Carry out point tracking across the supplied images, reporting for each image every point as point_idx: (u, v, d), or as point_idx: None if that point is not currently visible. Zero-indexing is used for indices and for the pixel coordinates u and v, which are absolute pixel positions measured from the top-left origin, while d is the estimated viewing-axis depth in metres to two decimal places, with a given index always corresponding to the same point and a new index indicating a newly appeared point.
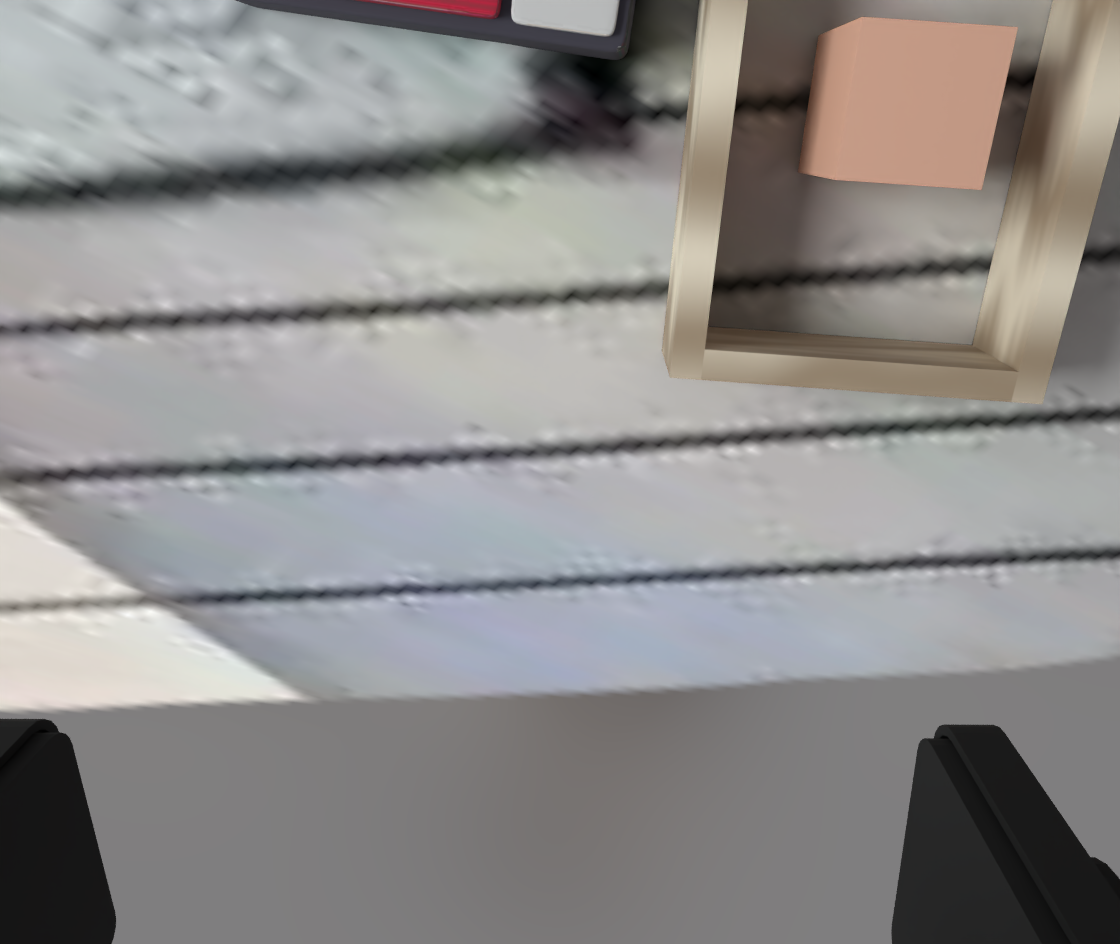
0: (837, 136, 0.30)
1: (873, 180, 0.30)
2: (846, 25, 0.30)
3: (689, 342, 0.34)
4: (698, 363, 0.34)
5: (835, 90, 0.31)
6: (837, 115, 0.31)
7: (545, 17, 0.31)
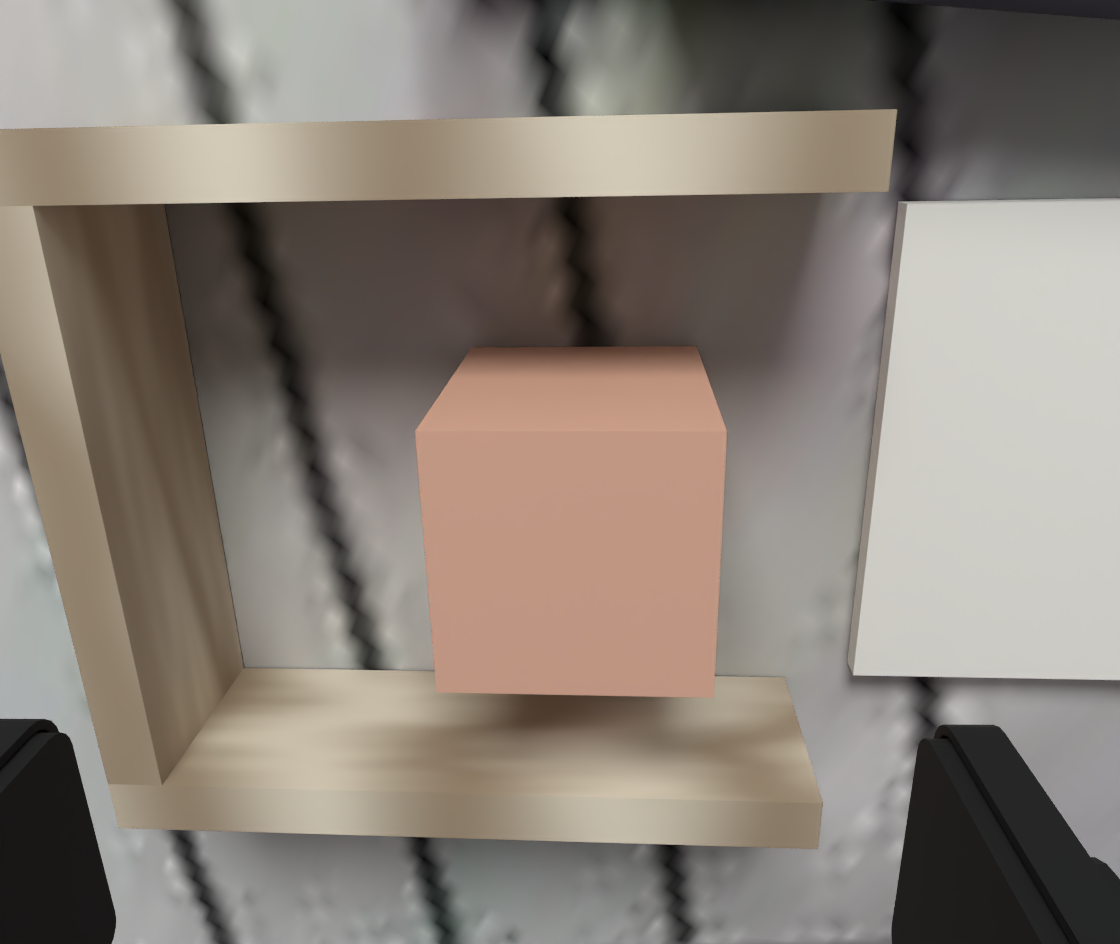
0: (504, 419, 0.15)
1: (424, 505, 0.15)
2: (711, 398, 0.16)
3: (37, 167, 0.15)
4: None
5: (596, 397, 0.16)
6: (547, 409, 0.15)
7: None
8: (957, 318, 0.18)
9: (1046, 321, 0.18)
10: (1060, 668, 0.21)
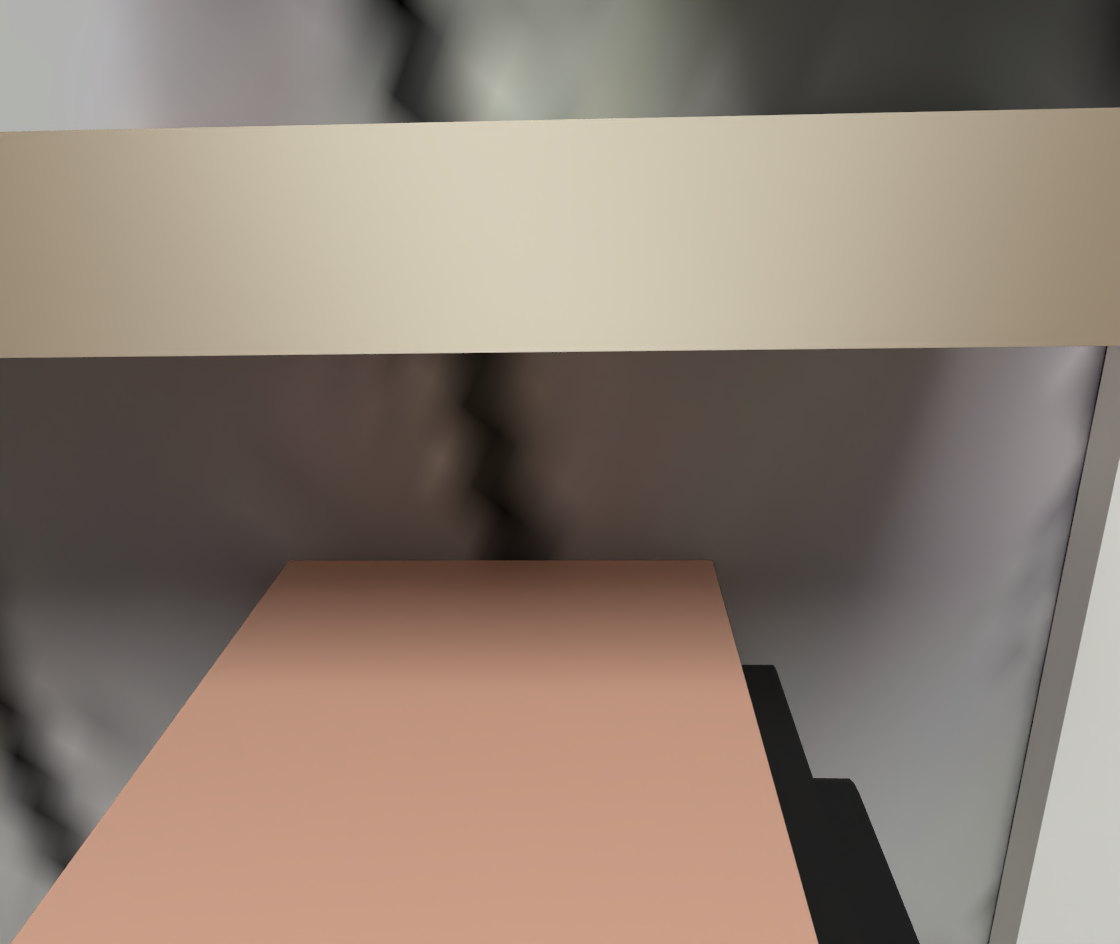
0: None
1: None
2: (772, 810, 0.07)
3: None
4: None
5: (495, 800, 0.07)
6: (359, 879, 0.06)
7: None
8: None
9: None
10: None
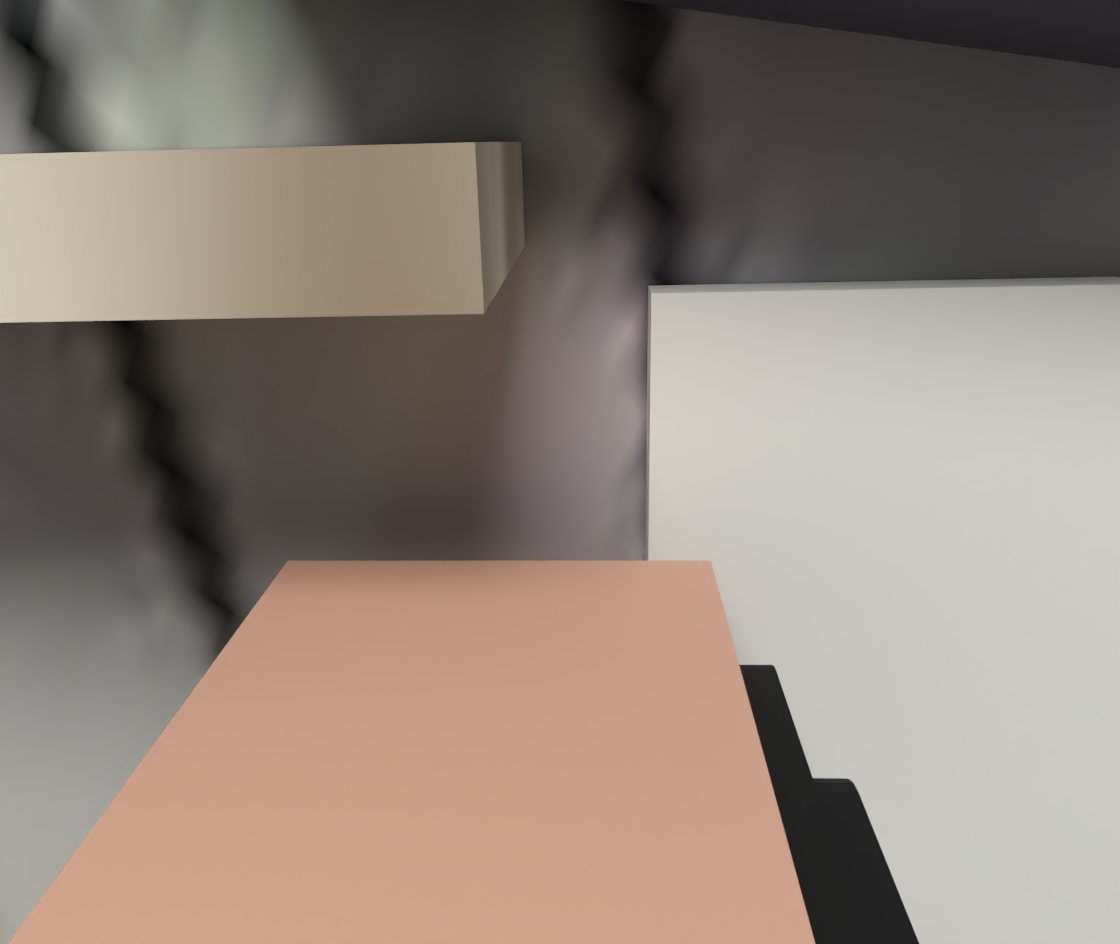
0: None
1: None
2: (769, 810, 0.07)
3: None
4: None
5: (492, 801, 0.07)
6: (358, 881, 0.06)
7: None
8: (751, 476, 0.11)
9: (896, 480, 0.11)
10: None
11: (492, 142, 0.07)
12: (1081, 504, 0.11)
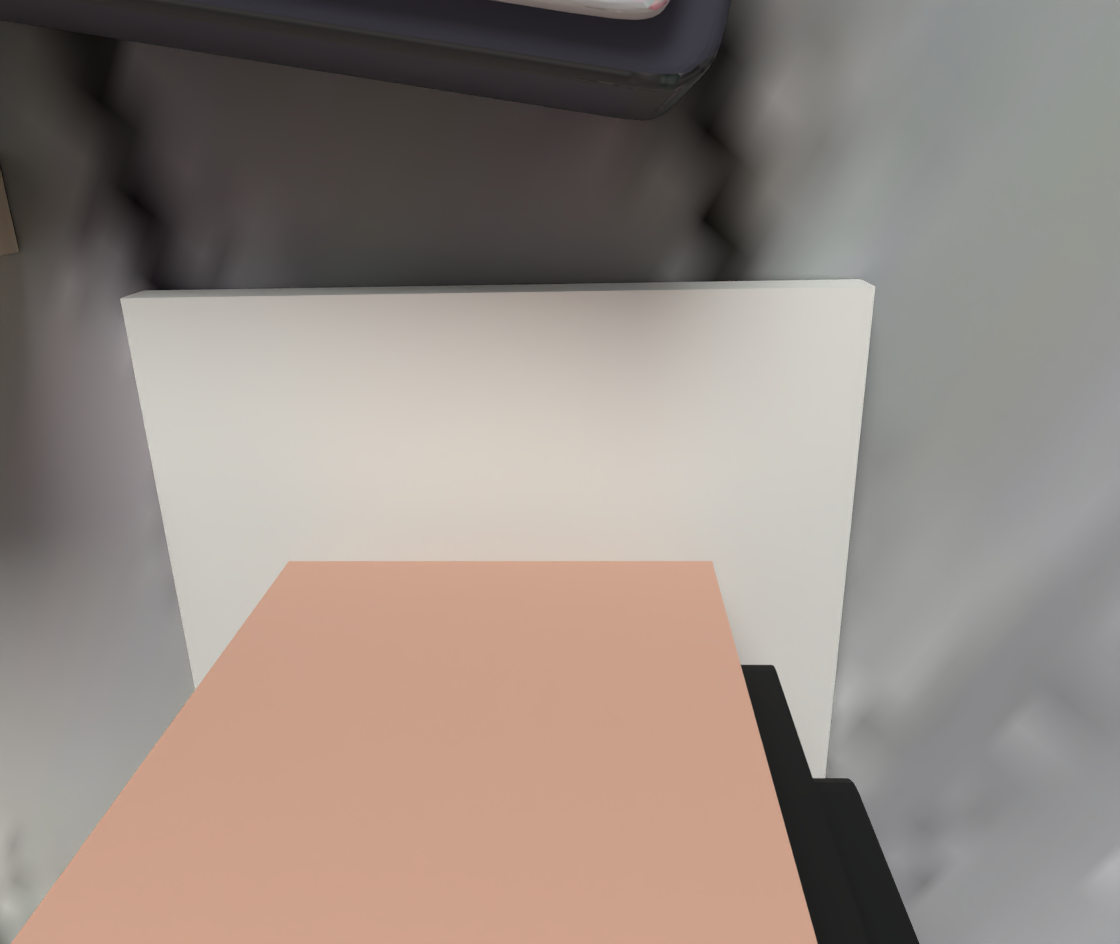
0: None
1: None
2: (771, 811, 0.07)
3: None
4: None
5: (494, 802, 0.07)
6: (359, 882, 0.06)
7: None
8: (251, 475, 0.11)
9: (390, 480, 0.11)
10: None
11: None
12: (571, 504, 0.11)
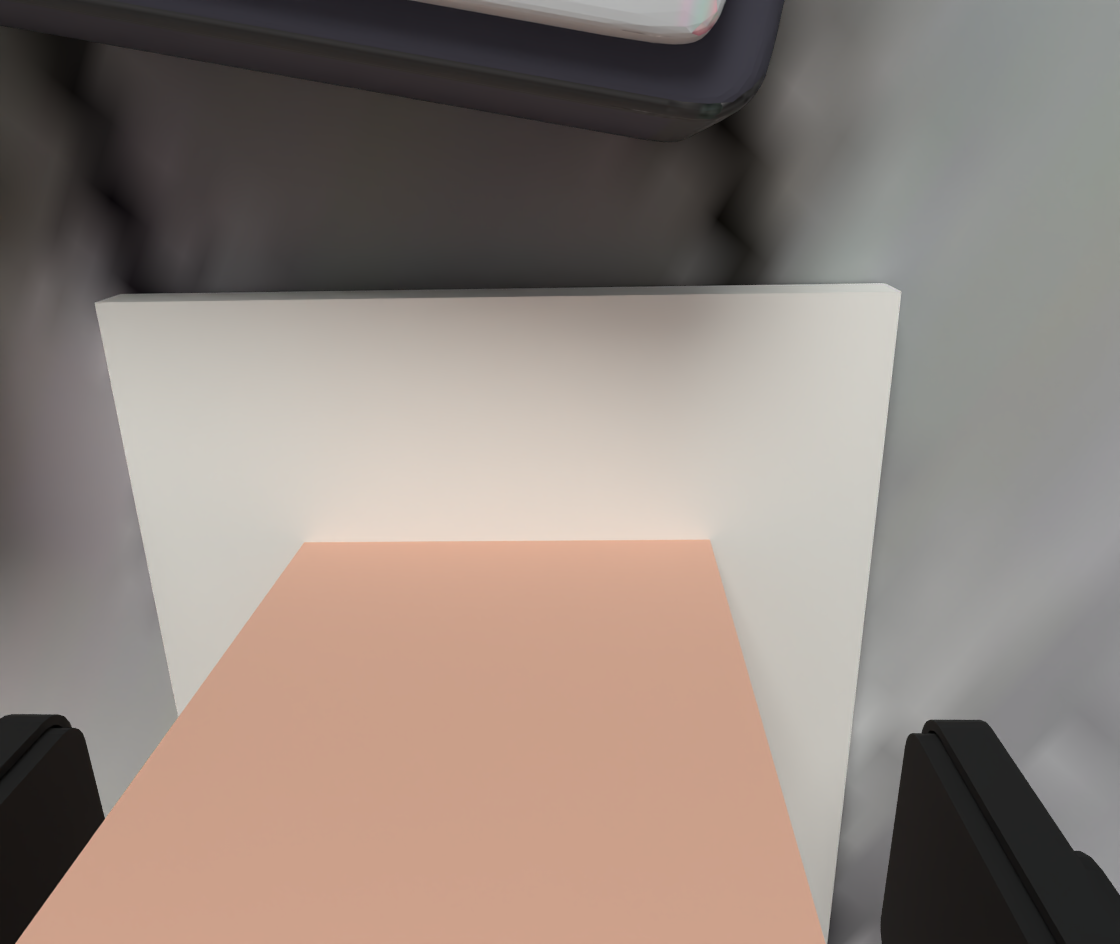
0: (261, 884, 0.06)
1: None
2: (764, 762, 0.07)
3: None
4: None
5: (505, 755, 0.07)
6: (382, 826, 0.06)
7: None
8: (235, 490, 0.11)
9: (382, 495, 0.11)
10: None
11: None
12: (575, 522, 0.11)
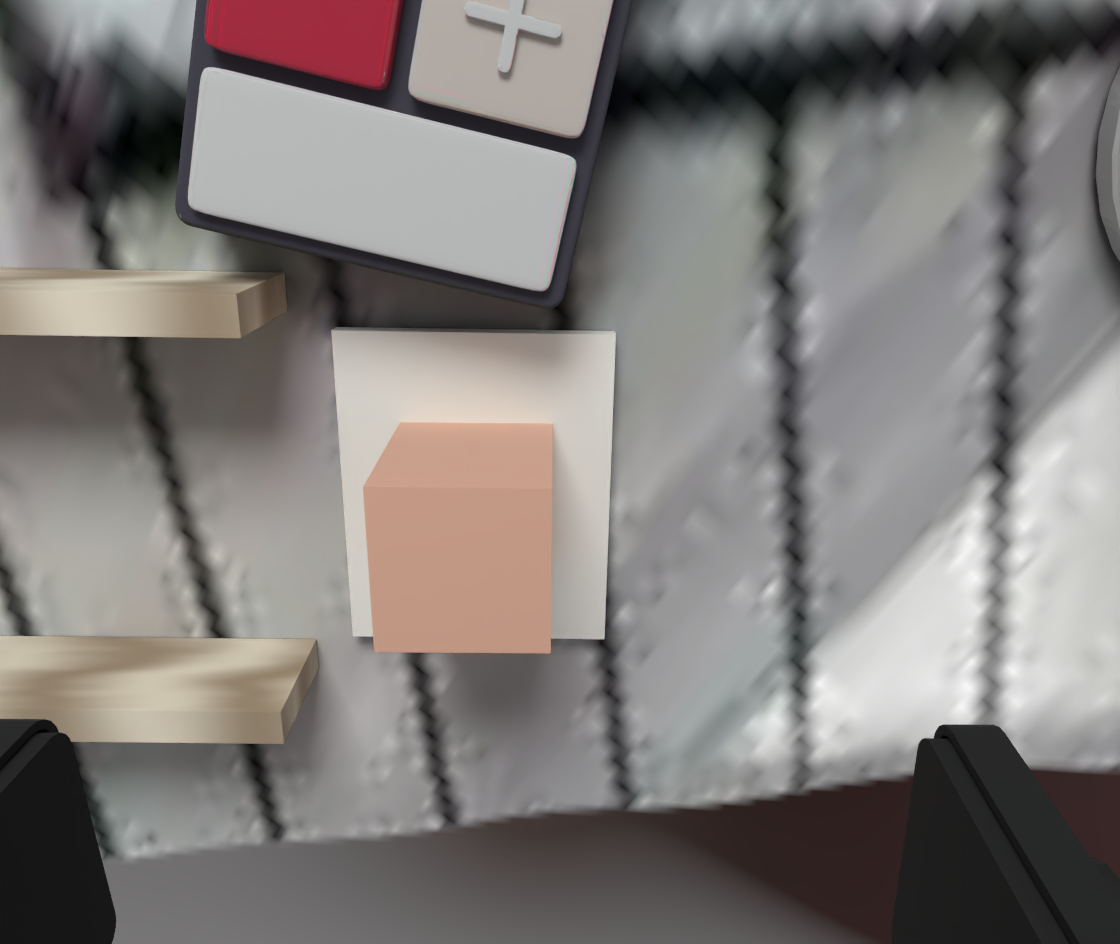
0: (418, 479, 0.24)
1: (368, 532, 0.24)
2: (549, 465, 0.25)
3: None
4: None
5: (478, 463, 0.25)
6: (446, 472, 0.25)
7: (207, 116, 0.23)
8: (375, 401, 0.29)
9: (431, 404, 0.29)
10: None
11: (250, 287, 0.25)
12: (502, 415, 0.29)
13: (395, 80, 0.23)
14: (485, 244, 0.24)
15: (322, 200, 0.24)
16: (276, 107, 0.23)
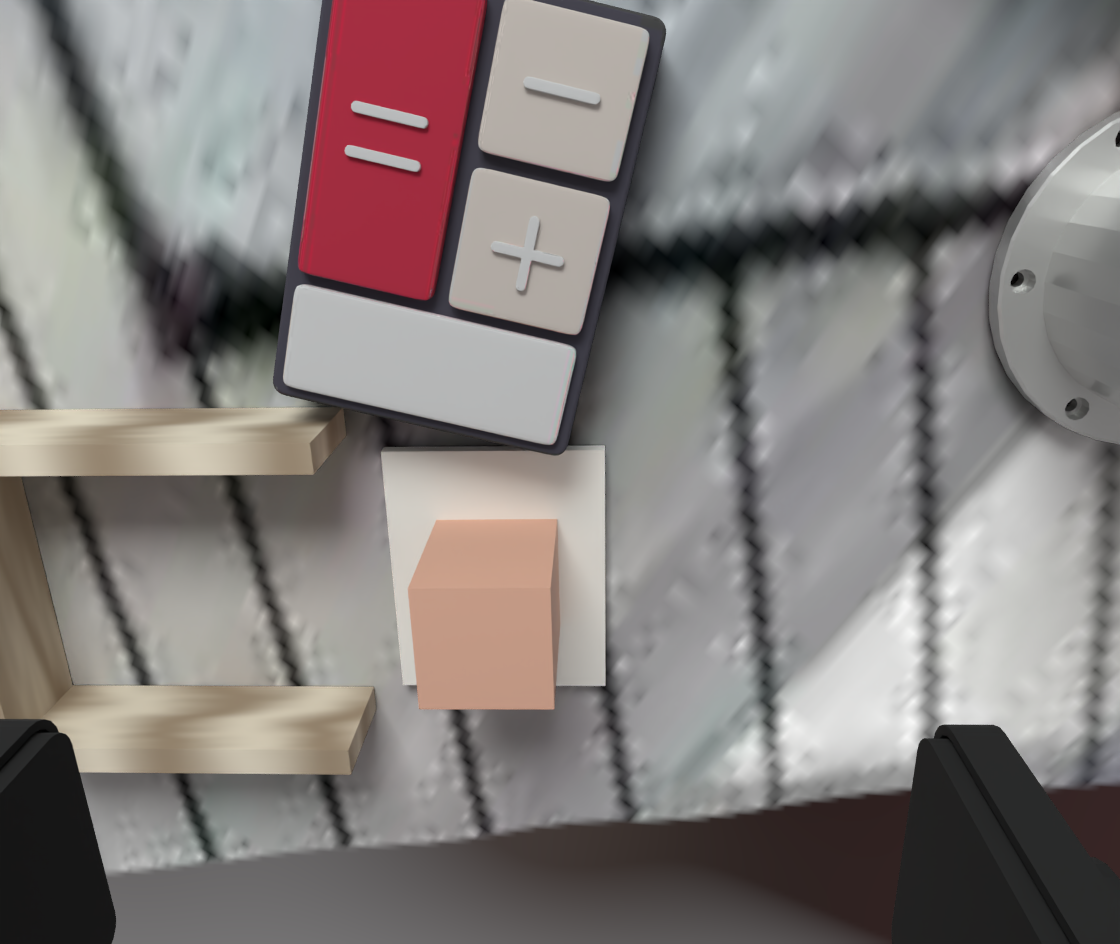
0: (449, 580, 0.32)
1: (412, 621, 0.32)
2: (550, 563, 0.33)
3: None
4: None
5: (495, 563, 0.33)
6: (470, 573, 0.32)
7: (298, 320, 0.31)
8: (416, 504, 0.37)
9: (460, 505, 0.36)
10: None
11: (319, 433, 0.33)
12: (517, 513, 0.37)
13: (439, 291, 0.31)
14: (506, 410, 0.32)
15: (383, 379, 0.32)
16: (350, 313, 0.31)
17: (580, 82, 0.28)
